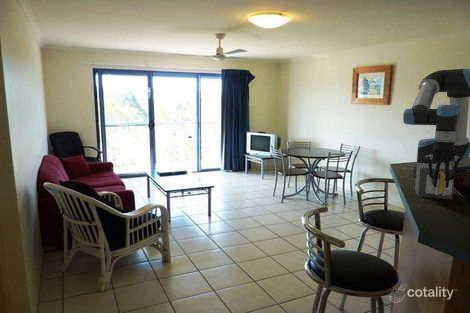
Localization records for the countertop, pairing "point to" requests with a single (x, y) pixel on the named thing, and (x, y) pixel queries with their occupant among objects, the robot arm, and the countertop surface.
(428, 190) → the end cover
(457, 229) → the countertop surface
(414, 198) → the countertop surface
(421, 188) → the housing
